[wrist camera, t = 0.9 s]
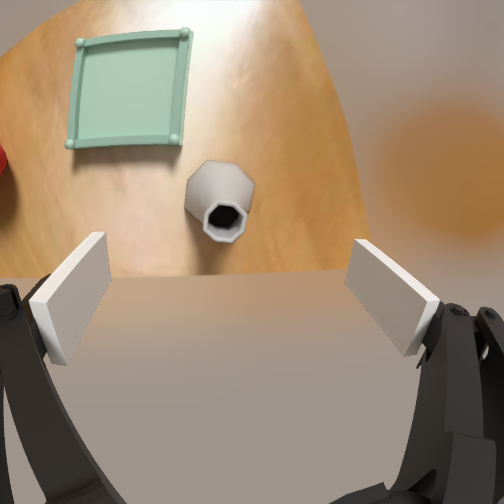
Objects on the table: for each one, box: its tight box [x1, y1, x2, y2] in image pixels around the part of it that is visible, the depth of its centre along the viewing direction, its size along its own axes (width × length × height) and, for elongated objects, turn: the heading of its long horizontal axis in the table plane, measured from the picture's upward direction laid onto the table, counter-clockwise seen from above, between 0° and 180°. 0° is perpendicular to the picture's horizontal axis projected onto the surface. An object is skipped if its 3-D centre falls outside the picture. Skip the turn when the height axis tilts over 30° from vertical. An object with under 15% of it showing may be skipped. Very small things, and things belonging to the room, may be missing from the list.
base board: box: [65, 27, 193, 150], centre depth 22 cm, size 12×12×3 cm
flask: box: [184, 160, 255, 243], centre depth 25 cm, size 7×7×10 cm
